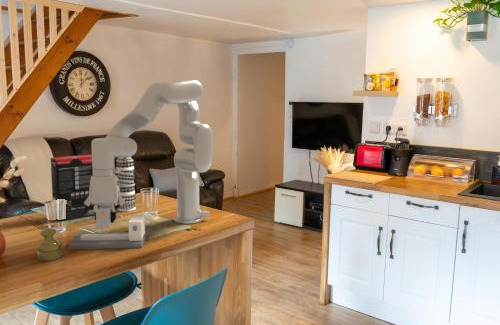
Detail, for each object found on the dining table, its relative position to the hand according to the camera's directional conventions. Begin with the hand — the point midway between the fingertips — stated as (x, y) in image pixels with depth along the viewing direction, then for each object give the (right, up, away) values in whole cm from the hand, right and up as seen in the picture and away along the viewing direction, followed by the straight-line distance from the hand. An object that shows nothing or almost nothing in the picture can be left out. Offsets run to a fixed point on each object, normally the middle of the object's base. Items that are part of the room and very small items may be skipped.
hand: (105, 221), depth 155 cm
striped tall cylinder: (-6, -1, +47) cm, 47 cm away
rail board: (+1, -8, +2) cm, 8 cm away
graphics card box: (-25, -3, +33) cm, 41 cm away
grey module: (0, -1, 0) cm, 1 cm away
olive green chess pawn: (-14, -10, -13) cm, 22 cm away
